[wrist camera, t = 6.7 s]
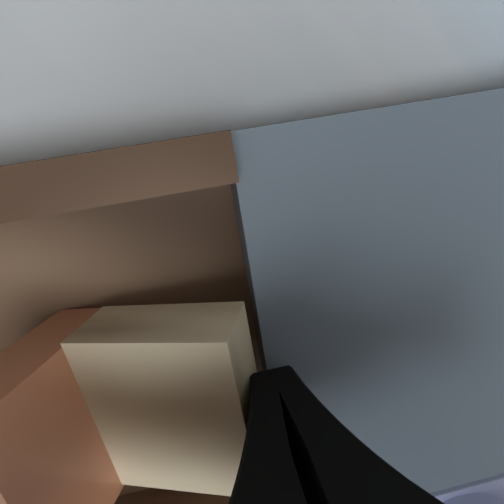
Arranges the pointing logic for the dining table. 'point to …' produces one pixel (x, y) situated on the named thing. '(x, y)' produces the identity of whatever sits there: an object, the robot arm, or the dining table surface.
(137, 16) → the dining table surface
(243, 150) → the bench plate
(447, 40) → the dining table surface
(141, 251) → the tray
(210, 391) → the birch tile
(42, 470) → the terracotta tile
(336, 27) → the dining table surface
